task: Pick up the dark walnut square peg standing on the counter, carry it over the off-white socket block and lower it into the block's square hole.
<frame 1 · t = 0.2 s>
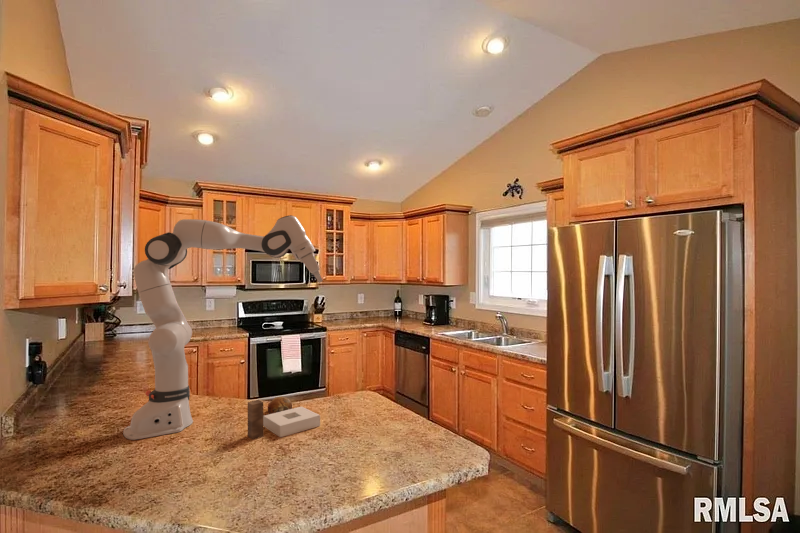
hand: (320, 281, 173), 54 cm above the countertop, tool tilted 30°, fingers open, 8 cm apart
bread roll: (279, 412, 174), on the countertop
walnut peg: (255, 436, 148), on the countertop
socket block: (291, 426, 158), on the countertop
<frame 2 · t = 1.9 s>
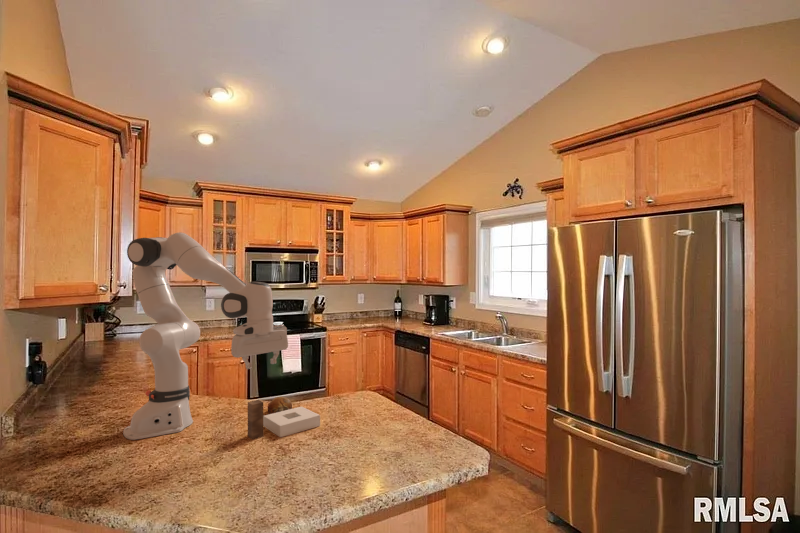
hand: (261, 366, 150), 25 cm above the countertop, tool pointing down, fingers open, 8 cm apart
nothing on the countertop moved.
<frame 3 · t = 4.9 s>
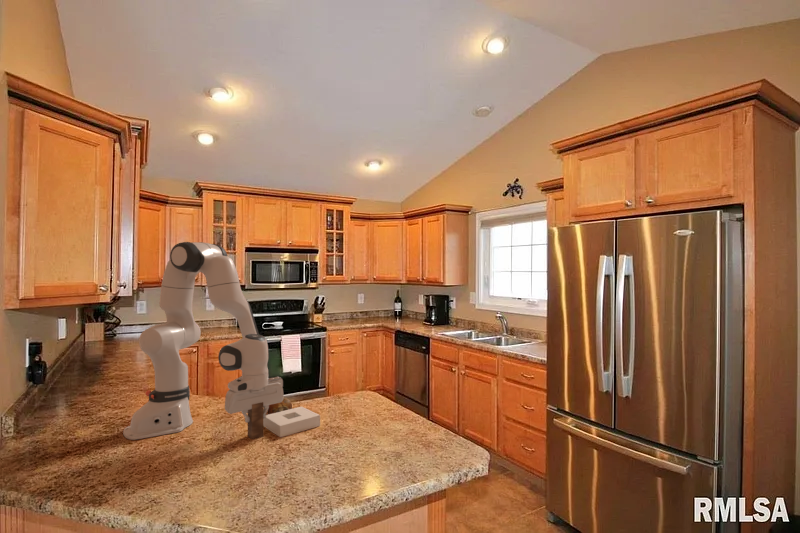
hand: (255, 420, 149), 6 cm above the countertop, tool pointing down, fingers closed on walnut peg, 4 cm apart
walnut peg: (255, 436, 148), on the countertop, touching gripper
everything else where it was.
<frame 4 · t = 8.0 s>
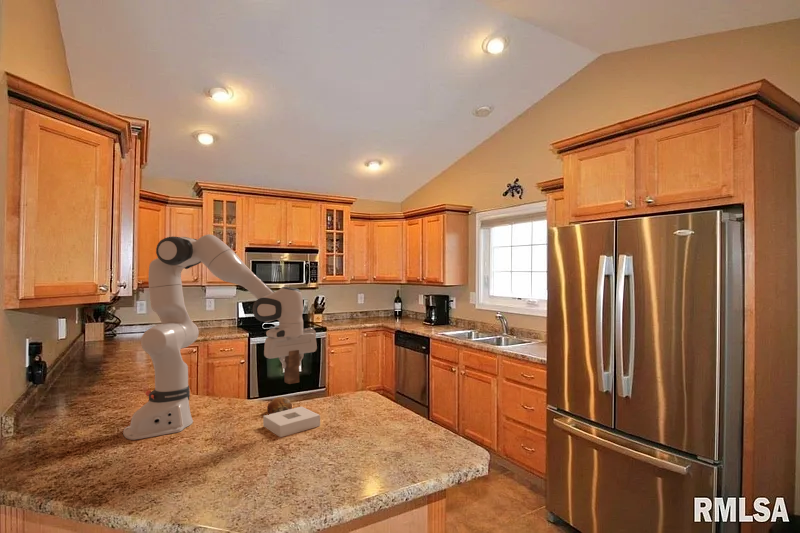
hand: (291, 366, 158), 22 cm above the countertop, tool pointing down, fingers closed on walnut peg, 4 cm apart
walnut peg: (291, 382, 158), point 17 cm above the countertop, touching gripper
everything else where it was.
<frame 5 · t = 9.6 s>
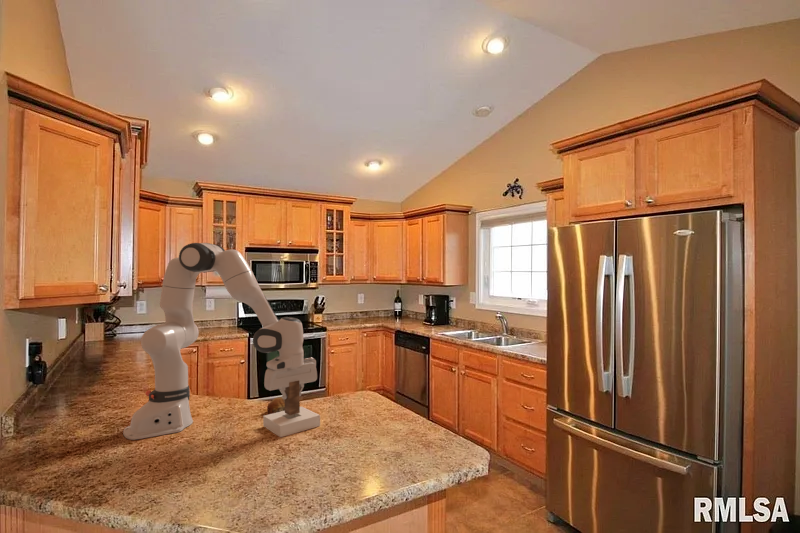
hand: (291, 397, 158), 11 cm above the countertop, tool pointing down, fingers closed on walnut peg, 4 cm apart
walnut peg: (292, 412, 158), point 5 cm above the countertop, touching gripper
everything else where it was.
when the fingers open (7 cm above the countertop, at t = 11.1 s): walnut peg stays where it is, resting in socket block.
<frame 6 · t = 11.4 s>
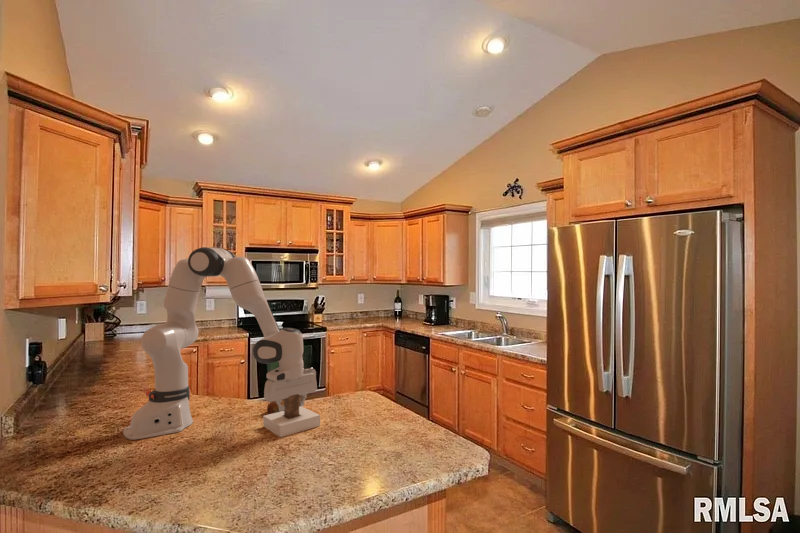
hand: (291, 408, 158), 7 cm above the countertop, tool pointing down, fingers open, 7 cm apart
walnut peg: (291, 426, 158), resting in socket block
everything else where it was.
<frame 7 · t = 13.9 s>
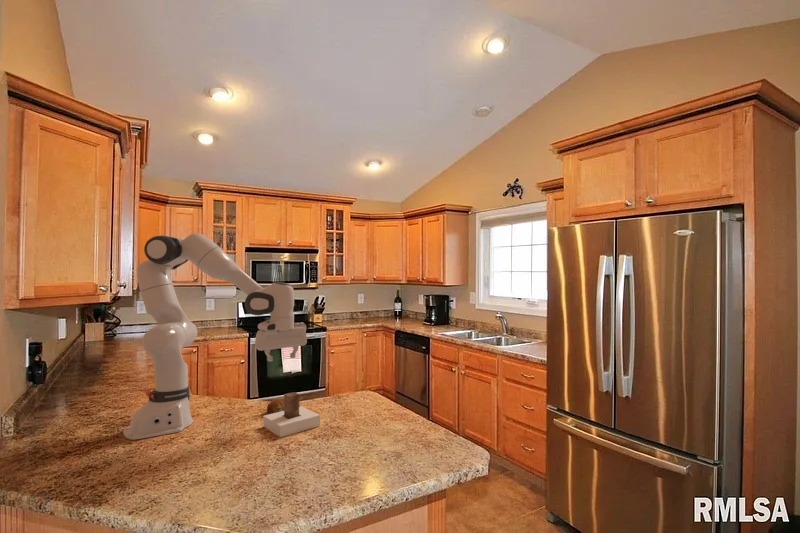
hand: (281, 359, 164), 24 cm above the countertop, tool pointing down, fingers open, 8 cm apart
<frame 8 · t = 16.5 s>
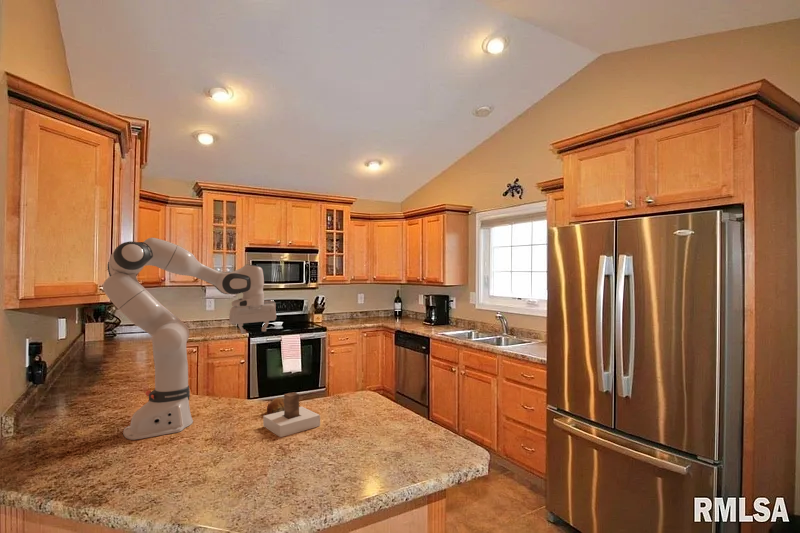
hand: (253, 332, 186), 31 cm above the countertop, tool pointing down, fingers open, 8 cm apart
at the end: walnut peg 0.1 cm off-centre on the socket block, point 0.0 cm above the socket block's base; walnut peg tilted 0°; the gripper is holding nothing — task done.
